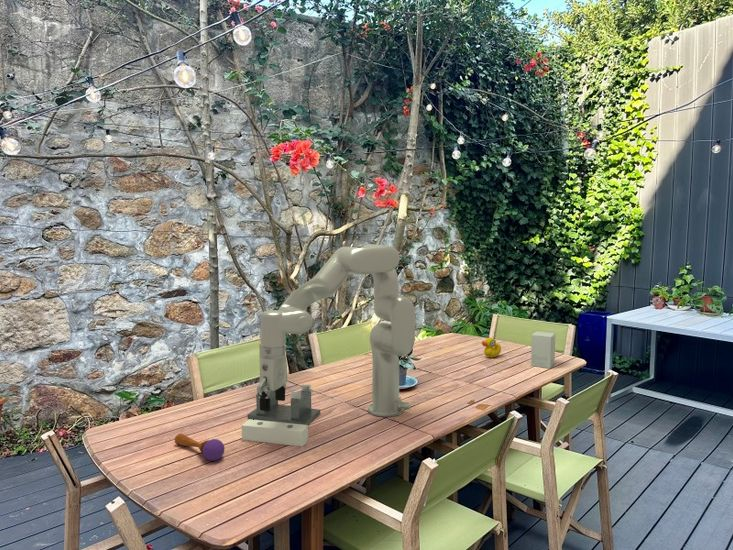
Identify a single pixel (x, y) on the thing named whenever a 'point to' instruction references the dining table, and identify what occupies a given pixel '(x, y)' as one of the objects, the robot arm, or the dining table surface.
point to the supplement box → (543, 349)
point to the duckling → (491, 348)
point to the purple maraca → (203, 446)
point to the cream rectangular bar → (275, 432)
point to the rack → (288, 409)
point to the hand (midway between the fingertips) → (272, 405)
